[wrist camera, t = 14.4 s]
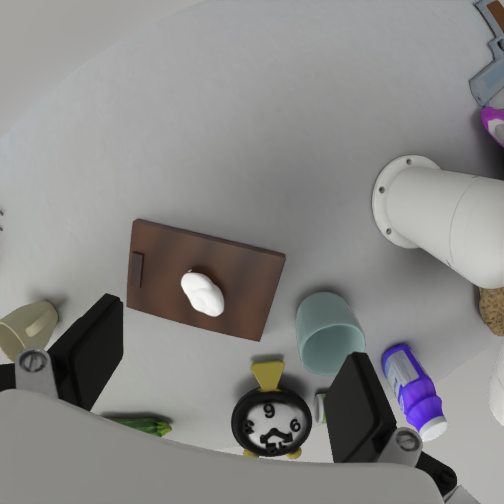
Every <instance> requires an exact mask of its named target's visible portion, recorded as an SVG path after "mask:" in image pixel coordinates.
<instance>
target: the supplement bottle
mask: <svg viewBox="0 0 504 504" xmlns="http://www.w3.org/2000/svg"><path fill="white" fill-rule="evenodd" d="M325 395H326V393H325V394H317V395H316V397H315V403H314V413H315V419H316V422H317V423H319V424H320V423H326V417H325V412H324V407H323V400H324V397H325Z"/></svg>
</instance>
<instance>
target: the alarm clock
mask: <svg viewBox="0 0 504 504" xmlns="http://www.w3.org/2000/svg"><path fill="white" fill-rule="evenodd" d="M250 369H251V371H252V373H253V374H254V376H255V377H256V379H257V381H258V383H259V384H260V386H261V387H258V388H255V389H253V390H251V391H249V392H248V393H247V394H245V395H244V396H243V397H242V398H241V399H240V400H239V401H238V403H237V404H236V406H235V408H234V410H233V414H232V418H231V427H232V432H233V435H234V437H235V439H236V441H237V442H238V443H239V444H240V445H241V446H242V447H243V448H244V449H245V450H244V453H243V454H244V456H249V457H256V458H259V456H265V457H275V456H281V455H285V454H286V455H287V457H288V458H290V459H296V458H298V457H299V456H300V455H301V451H302V450H301V448H300V446H301V445H302V444H303V443H304V442H305V440H306V439H307V437H308V436H309V434H310V431H311V427H312V416H311V412H310V409H309V407H308V405H307V404H306V402H305V401H304V400H303V399H302V398H301V397H300V396H299V395H298V394H296V393H295V392H294V391H292V390H290V389H287V388H285V387H281V386H277V385H278V382H279V379H280V377H281V374H282V372H283V369H284V362H283V361H281V360H273V361H262V362H255V363H253V364H252V365H251V367H250Z"/></svg>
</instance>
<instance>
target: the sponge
mask: <svg viewBox="0 0 504 504" xmlns="http://www.w3.org/2000/svg"><path fill="white" fill-rule="evenodd" d="M478 288H479V291H480V301H479V309H480V313H481V315H482V318H483V320H484V323H485V324H487V325H488V327H489V328H490V330H491V331H492V332H493V333H494V335H495V334H496V335H498V336H504V287H501V288H495V289H487V288H482V287H479V286H478Z"/></svg>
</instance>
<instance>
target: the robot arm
mask: <svg viewBox="0 0 504 504" xmlns="http://www.w3.org/2000/svg"><path fill="white" fill-rule="evenodd" d="M406 160H407V162H406ZM379 188H381V190H380V191H379ZM372 210H373V215H374V219H375V221H376V224H377V226H378V228H379V230H380V231H381V233H382V234H383V235H384V236H385V237H386V238H387V239H388V240H389V241H391V242H392V243H394V244H395V245H397V246H400V247H403V248H409V249H414V248H420V247H421V248H422V249H424V250H425V251H427V252H428V253H430V254H431V255H433V256H434V257H436V258H437V259H439V260H440V261H442V262H443V263H445V264H446V265H447V266H449V267H450V268H452V269H453V270H454V271H456V272H457V273H459V274H460V275H461V276H463V277H465V278H466V279H467V280H469V281H470V282H472V283H473V284H475V285H477V286H479V287H482V288H487V289H495V288H501V287H504V181H502V180H497V179H492V178H486V177H481V176H476V175H470V174H464V173H458V172H451V171H445V170H441V169H440V167H439V166H438V165H437V164H435V163H434V162H433V161H431V160H430V159H428V158H426V157H423V156H418V155H405V156H401V157H398V158H396V159H395V160H393V161H391V162H390V163H389V164H388V165H387V166H386V167H385V168H384V169H383V170H382V172H381V173H380V175H379V177H378V178H377V180H376V183H375V186H374V189H373V196H372ZM387 229H388V231H386V230H387ZM122 357H123V302H121V301H120V298H119V297H117V296H114V295H111V294H108V293H106V294H105V295H104V296H103V297H102V298H100V299H99V300H98V301H97V302H96V303H95V304H94V305H93V306H92V307H91V308H90V309H89V310H88V311H87V312H86V313H85V314H84V315H83V316H82V317H80V318H79V319H77V320H76V321H75V322H74V323H73V324H72V325H71V327H70V328H69V329H68V330H67V331H66V332H65V333H64V334H63V335H62V336H61V337H60V338H59V339H58V340H57V341H56V342H55V343H54V344H53V345H52V346H51V347H50V348H49V349H48V351H47V352H46V351H45V350H43V349H40V348H37V347H30V348H26V349H24V350H22V351H21V352H19V353H18V355H17V356H16V359H15V363H11V364H2V365H0V504H480V503H479V502H478V501H477V500H476V499H475V498H474V497H473V496H472V495H471V494H470V493H469V492H468V491H467V490H466V489H465V488H463V486H462V485H459V486H457V476H456V474H455V472H454V471H453V470H452V469H451V468H450V467H448V466H446V465H445V464H443V463H441V462H440V461H438V460H436V459H435V458H433V457H431V456H429V455H428V454H426V453H424V452H423V451H422V448H423V442H422V439H421V437H420V435H419V434H418V433H417V432H415V431H414V430H412V429H410V428H406V427H401V428H398V429H397V426H396V423H397V422H396V419H395V417H394V414H393V412H392V409H391V407H390V405H389V402H388V400H387V397H386V395H385V393H384V390H383V388H382V386H381V384H380V381H379V379H378V377H377V374H376V372H375V370H374V368H373V365H372V363H371V361H370V359H369V357H368V355H367V353H363V352H356V351H354V352H352V353H351V354H348V355H347V357H346V359H345V361H344V363H343V365H342V366H341V368H340V370H339V372H338V374H337V376H336V377H335V379H334V381H333V383H332V385H331V386H330V388H329V390H328V392H327V393H326V395H325V397H324V400H323V407H324V412H325V417H326V423H327V428H328V433H329V439H330V444H331V449H332V455H333V461H334V463H314V462H312V463H311V462H294V461H282V460H273V459H263V458H256V457H249V456H241V455H236V454H230V453H224V452H219V451H214V450H209V449H204V448H200V447H196V446H191V445H187V444H183V443H180V442H176V441H172V440H168V439H165V438H161V437H158V436H155V435H152V434H148V433H145V432H142V431H139V430H136V429H133V428H131V427H128V426H125V425H122V424H120V423H117V422H114V421H111V420H109V419H106V418H104V417H101V416H99V415H96V414H94V413H91V412H90V410H91V409H92V407H93V405H94V404H95V402H96V400H97V399H98V397H99V395H100V394H101V392H102V390H103V389H104V387H105V385H106V384H107V382H108V380H109V379H110V377H111V376H112V374H113V372H114V371H115V369H116V368H117V366H118V364H119V363H120V361H121V359H122ZM488 401H489V405H490V408H491V411H492V413H493V415H494V417H495V418H496V419H497V421H498V422H499V423H500V424H501V425H502V426H503V427H504V341H503V343H502V346H501V349H500V352H499V355H498V357H497V360H496V363H495V366H494V368H493V371H492V375H491V378H490V382H489V387H488Z"/></svg>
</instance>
